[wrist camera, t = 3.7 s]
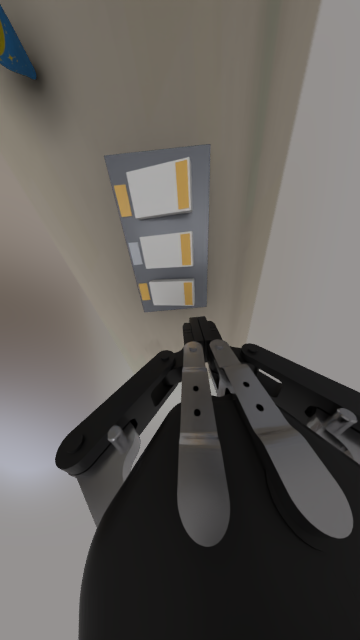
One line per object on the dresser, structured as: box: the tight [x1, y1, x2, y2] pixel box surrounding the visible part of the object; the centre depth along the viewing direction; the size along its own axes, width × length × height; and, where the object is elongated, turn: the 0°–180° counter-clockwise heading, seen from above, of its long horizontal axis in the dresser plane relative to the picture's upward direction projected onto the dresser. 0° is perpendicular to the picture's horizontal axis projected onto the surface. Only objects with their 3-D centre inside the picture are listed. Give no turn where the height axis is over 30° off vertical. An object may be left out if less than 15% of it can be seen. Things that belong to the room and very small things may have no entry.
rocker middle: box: [140, 231, 194, 269], centre depth 18 cm, size 4×7×2 cm, turn 95°
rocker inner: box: [126, 157, 192, 220], centre depth 15 cm, size 4×7×2 cm, turn 95°
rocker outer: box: [149, 278, 195, 306], centre depth 21 cm, size 4×7×2 cm, turn 95°
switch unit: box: [104, 144, 210, 312], centre depth 21 cm, size 20×12×4 cm, turn 5°
